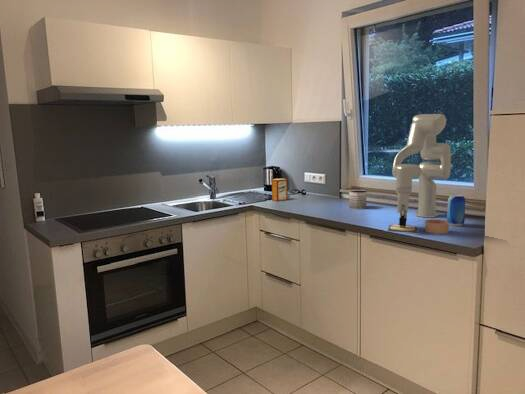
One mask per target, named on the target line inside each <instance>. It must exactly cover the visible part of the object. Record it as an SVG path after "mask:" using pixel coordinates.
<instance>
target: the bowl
mask: <svg viewBox="0 0 525 394" xmlns="http://www.w3.org/2000/svg"><path fill="white" fill-rule="evenodd" d="M449 229H450V225H449V222H448V221H447V220H445V219H435V218H432V219H426V220H424V232H426V233H429V234H433V235H434V234H435V235H436V234H437V235H445V234H448V233H449V232H450V231H449Z"/></svg>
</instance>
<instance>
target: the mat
mask: <svg viewBox="0 0 525 394" xmlns="http://www.w3.org/2000/svg"><path fill="white" fill-rule="evenodd" d="M392 225H393V224H392ZM392 225H391V224H389V225H388V229H387V232H393V233H394V232H395V233H397V232H398V233H403V232H402V231H395V230H391V229H390V226H392ZM413 226H414V227H415V228H416V230H415V231H409V232H408V233H411V234H412V233H413V234H418V226H415V225H413Z"/></svg>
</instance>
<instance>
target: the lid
mask: <svg viewBox="0 0 525 394" xmlns="http://www.w3.org/2000/svg"><path fill="white" fill-rule="evenodd" d="M414 226H415V225H410V224H409V225H408V224H406V226H400V225H399V224H392V226H390V229H391V230H395V231H402V232H401V233H410V232H409V231H415V230H416V228H415V227H416V226H415V227H414Z"/></svg>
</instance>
